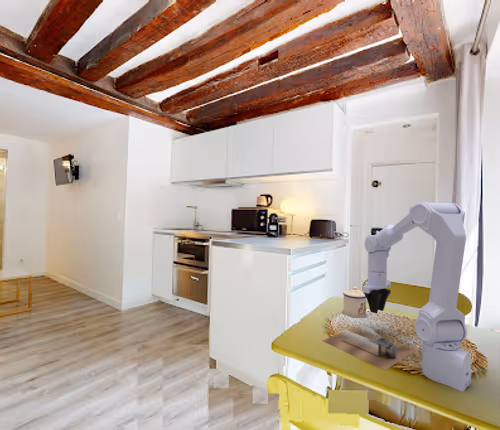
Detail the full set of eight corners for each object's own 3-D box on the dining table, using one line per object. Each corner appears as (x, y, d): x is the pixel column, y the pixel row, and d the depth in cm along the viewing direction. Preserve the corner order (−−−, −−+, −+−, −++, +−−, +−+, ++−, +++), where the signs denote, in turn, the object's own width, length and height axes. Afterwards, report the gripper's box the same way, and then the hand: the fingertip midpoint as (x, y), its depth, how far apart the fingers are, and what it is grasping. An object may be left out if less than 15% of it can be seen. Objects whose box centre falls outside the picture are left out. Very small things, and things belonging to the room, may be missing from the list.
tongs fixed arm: (393, 356, 75) (393, 341, 75) (387, 359, 73) (387, 344, 73) (347, 337, 87) (347, 324, 87) (341, 339, 85) (341, 326, 85)
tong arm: (397, 358, 74) (397, 347, 74) (389, 358, 74) (389, 347, 74) (367, 334, 89) (367, 325, 89) (360, 334, 89) (360, 325, 89)
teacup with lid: (362, 321, 104) (362, 291, 104) (339, 315, 110) (339, 287, 110) (371, 313, 113) (371, 285, 113) (349, 308, 119) (350, 281, 119)
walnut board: (415, 353, 79) (416, 350, 79) (384, 374, 68) (384, 370, 68) (354, 330, 95) (354, 327, 95) (321, 343, 85) (321, 340, 85)
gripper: (377, 267, 98) (376, 304, 98) (354, 271, 90) (353, 311, 90) (396, 270, 93) (396, 309, 93) (374, 275, 84) (374, 318, 84)
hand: (376, 311), depth 91 cm, fingers open, 3 cm apart
